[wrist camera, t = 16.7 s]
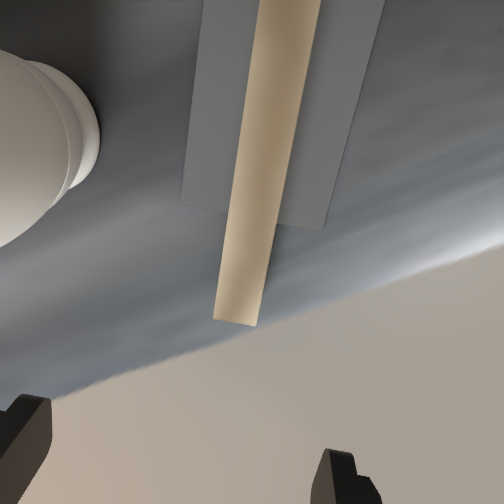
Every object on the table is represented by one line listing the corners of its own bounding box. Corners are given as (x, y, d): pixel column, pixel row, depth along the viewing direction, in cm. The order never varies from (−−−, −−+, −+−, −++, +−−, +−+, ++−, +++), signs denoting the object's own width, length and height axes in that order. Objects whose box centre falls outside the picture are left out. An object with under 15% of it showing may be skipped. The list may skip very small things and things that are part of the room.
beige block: (219, 297, 30) (212, 318, 27) (265, -11, 22) (263, -24, 20) (258, 304, 30) (255, 326, 27) (318, -1, 22) (323, -13, 20)
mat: (181, 201, 28) (179, 203, 28) (214, -78, 22) (213, -82, 21) (320, 229, 28) (321, 232, 28) (394, -41, 22) (397, -44, 21)
